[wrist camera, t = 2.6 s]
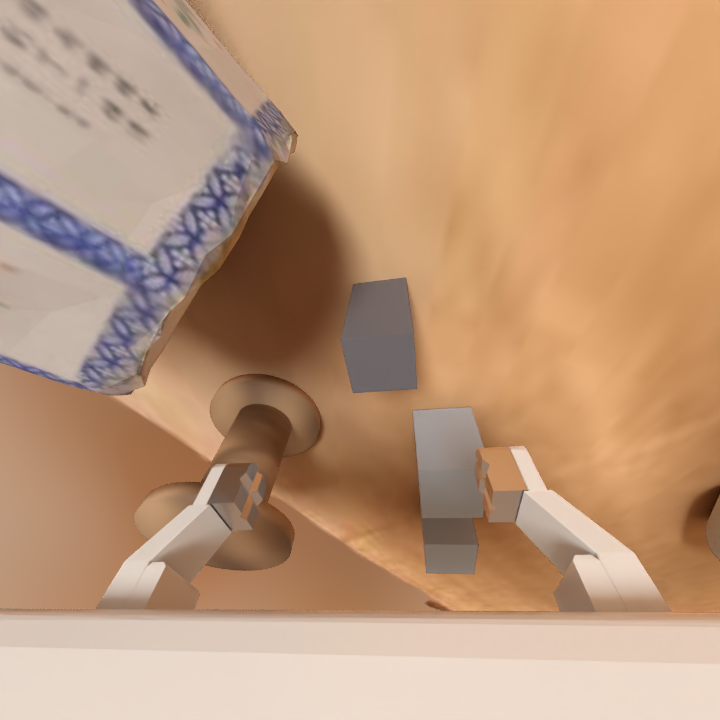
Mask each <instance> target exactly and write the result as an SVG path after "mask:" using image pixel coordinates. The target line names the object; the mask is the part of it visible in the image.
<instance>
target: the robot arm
mask: <svg viewBox="0 0 720 720" xmlns="http://www.w3.org/2000/svg"><path fill="white" fill-rule="evenodd" d="M476 458H477V462H476V463H475V478H476V482H477V486H478V490H479V491H480V492H481V493H482V494H483V506H484V510H485V513H486V516H487V519H488V522H516V523H515V524H516V525H517V526H518V527H519V528H520V529H521V530H522V531H523V533H524V534H525V535H526V536H527V537H528V538H529V539H530V540H531V541H532V542H533V543H534V544H535V545H536V547H537V548H538V549H539V550H540V551H541V552H542V553H543V554H544V555H545V556H546V557H547V558H548V559H549V561H550V562H551V563H552V564H553V565H554V566H555V567H556V568H557V569H558V570H559V571H560V572H561V573H562V575H563V578H562V580H561V582H560V583H559V585H558V587H557V589H556V591H555V593H554V596H555V599H556V601H557V604H558V607H559V609H560V612H543V611H365V610H363V611H362V610H361V611H360V610H358V611H357V610H194V609H195V606H196V604H197V601H198V599H199V596H200V593H199V591H198V590H197V589H196V588H195V587H194V586H192V585H191V584H190V582H191V581H192V580H193V579H194V578H195V576H196V575H197V574H198V573H199V572H200V570H201V569H202V568H203V567H204V566H205V564H206V563H207V562H208V561H209V559H210V558H211V557H212V556H213V555H214V553H215V552H216V551H217V550H218V549H219V547H220V546H221V545H222V544H223V542H224V541H225V540H226V539H227V538H228V536H229V535H230V534H231V533H232V532H231V531H239V530H253V529H254V526H255V523H256V520H257V517H258V514H259V509H258V507H257V506H258V505H259V504H260V503H261V502H262V500H263V498H264V495H265V490H266V482H265V478H264V477H263V475H262V474H260V473H259V472H257V471H258V466H257V465H256V463H228V464H216V465H215V466H214V467H213V468H212V469H211V471H210V473H209V475H208V477H207V479H206V480H205V482H204V484H203V486H202V488H201V490H200V492H199V494H198V496H197V498H196V499H195V501H194V503H193V505H189V506H188V507H186V508H185V509H184V510H183V511H182V512H181V513H180V514H178V515H177V516H176V517H175V518H174V519H173V520H172V521H170V522H169V523H168V524H167V525H166V526H165V527H164V528H162V529H161V530H160V531H159V532H158V533H157V534H155V535H154V536H153V537H152V538H151V539H150V540H149V541H147V542H146V543H145V544H144V545H143V546H142V547H141V548H139V549H138V550H137V551H136V552H135V553H134V554H132V555H131V556H130V557H129V558H128V559H127V560H126V561H125V562H124V563H123V565H122V567H121V569H120V570H119V571H118V573H117V575H116V576H115V578H114V580H113V581H112V583H111V584H110V586H109V588H108V589H107V591H106V593H105V594H104V596H103V597H102V599H101V601H100V602H99V604H98V606H97V607H96V609H9V608H0V720H720V612H672V611H671V610H670V608H669V607H668V605H667V603H666V602H665V600H664V599H663V597H662V596H661V594H660V592H659V591H658V589H657V588H656V586H655V585H654V583H653V581H652V580H651V578H650V577H649V575H648V574H647V572H646V570H645V569H644V567H643V566H642V564H641V563H640V561H639V559H638V558H637V556H636V555H635V553H634V552H632V551H631V550H630V549H629V548H627V547H626V546H625V545H623V544H622V543H621V542H619V541H618V540H617V539H616V538H614V537H613V536H612V535H610V534H609V533H608V532H606V531H605V530H604V529H603V528H601V527H600V526H599V525H597V524H596V523H595V522H593V521H592V520H591V519H589V518H588V517H587V516H586V515H584V514H583V513H582V512H580V511H579V510H578V509H576V508H575V507H574V506H573V505H571V504H570V503H569V502H567V501H566V500H565V499H563V498H562V497H561V496H560V495H558V494H557V493H556V492H554V491H553V490H547V488H546V486H545V484H544V482H543V480H542V478H541V476H540V475H539V473H538V471H537V469H536V467H535V465H534V463H533V461H532V459H531V457H530V455H529V453H528V451H527V449H526V448H525V447H524V446H509V447H507V446H503V447H490V448H477V450H476Z"/></svg>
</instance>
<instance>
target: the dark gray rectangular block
mask: <svg viewBox="0 0 720 720" xmlns="http://www.w3.org/2000/svg"><path fill="white" fill-rule="evenodd" d="M341 344H342V348H343V352H344V357H345V361H346V365H347V370H348V374H349V378H350V383H351V387H352V391H353V393H363V392H377V391H392V390H406V389H417V377H416V361H415V346H414V331H413V324H412V317H411V310H410V303H409V296H408V289H407V282H406V278H398V279H390V280H382V281H374V282H366V283H358V284H353V288H352V293H351V297H350V301H349V306H348V310H347V314H346V319H345V323H344V327H343V332H342V336H341Z"/></svg>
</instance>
